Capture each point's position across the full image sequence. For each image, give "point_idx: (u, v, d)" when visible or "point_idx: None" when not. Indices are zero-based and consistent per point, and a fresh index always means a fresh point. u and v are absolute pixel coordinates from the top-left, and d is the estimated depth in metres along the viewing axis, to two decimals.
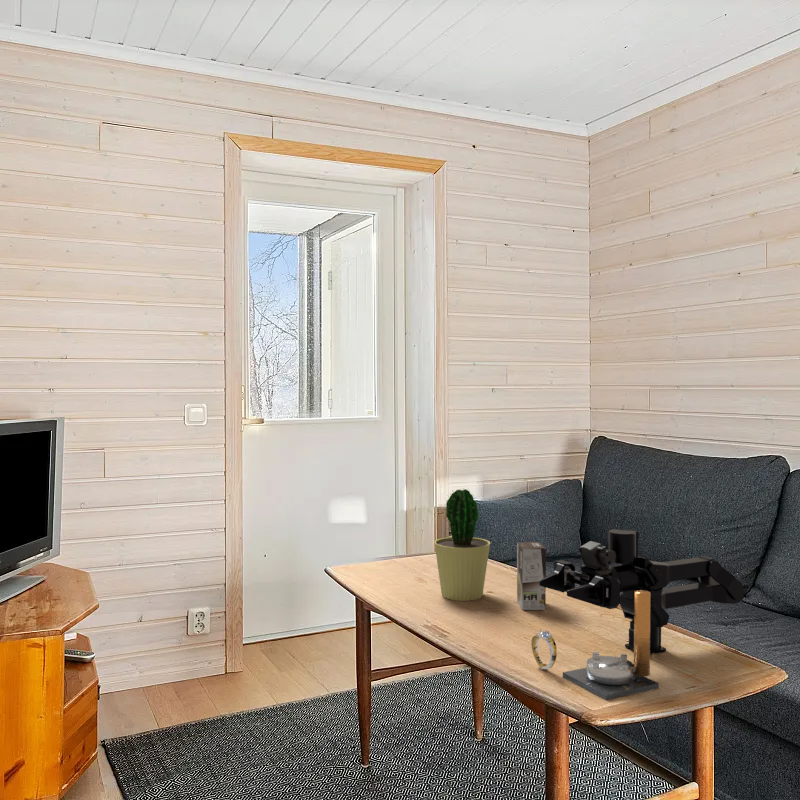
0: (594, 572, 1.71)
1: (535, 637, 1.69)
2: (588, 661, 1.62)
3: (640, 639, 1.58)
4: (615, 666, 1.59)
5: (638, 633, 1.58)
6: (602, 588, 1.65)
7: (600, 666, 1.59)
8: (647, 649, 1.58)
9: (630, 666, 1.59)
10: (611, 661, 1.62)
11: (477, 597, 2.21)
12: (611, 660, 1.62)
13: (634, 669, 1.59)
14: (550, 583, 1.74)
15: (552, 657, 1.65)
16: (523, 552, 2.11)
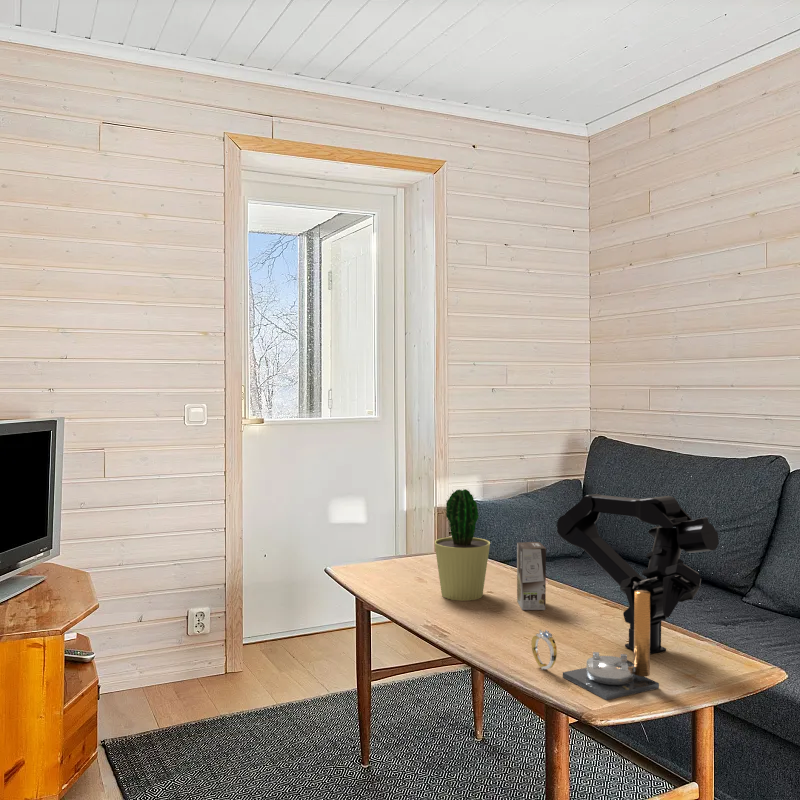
0: None
1: (535, 637, 1.69)
2: (588, 661, 1.62)
3: (640, 639, 1.58)
4: (615, 666, 1.59)
5: (638, 633, 1.58)
6: None
7: (600, 666, 1.59)
8: (647, 649, 1.58)
9: (630, 666, 1.59)
10: (611, 661, 1.62)
11: (477, 597, 2.21)
12: (611, 660, 1.62)
13: (634, 669, 1.59)
14: None
15: (552, 657, 1.65)
16: (523, 552, 2.11)
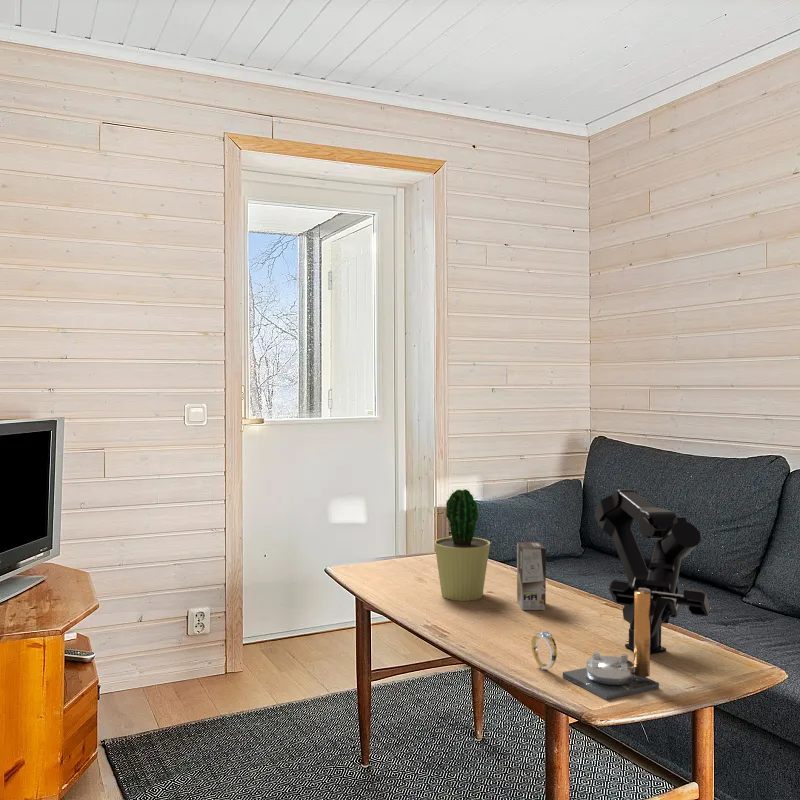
0: None
1: (535, 637, 1.69)
2: (588, 661, 1.62)
3: (640, 639, 1.57)
4: (615, 666, 1.59)
5: (637, 634, 1.58)
6: None
7: (600, 666, 1.59)
8: (647, 649, 1.57)
9: (629, 666, 1.59)
10: (611, 661, 1.62)
11: (477, 597, 2.21)
12: (611, 660, 1.62)
13: (634, 669, 1.59)
14: None
15: (552, 657, 1.65)
16: (523, 552, 2.11)
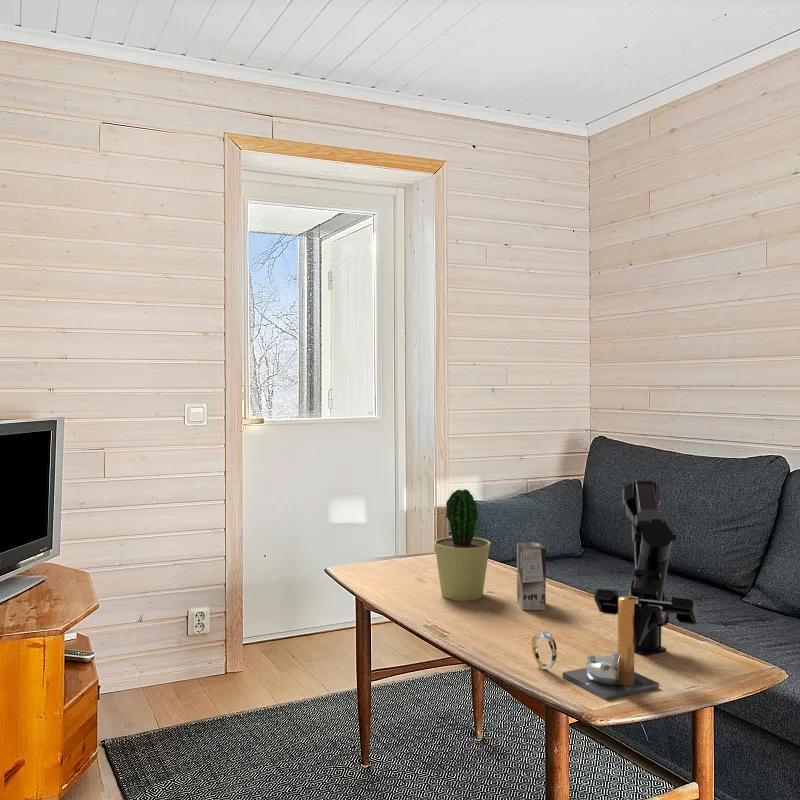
0: None
1: (535, 637, 1.69)
2: (600, 656, 1.65)
3: (618, 644, 1.54)
4: None
5: (618, 638, 1.55)
6: None
7: (595, 661, 1.62)
8: (623, 657, 1.53)
9: (617, 670, 1.57)
10: (616, 663, 1.60)
11: (477, 597, 2.21)
12: None
13: None
14: None
15: (552, 657, 1.65)
16: (523, 552, 2.11)
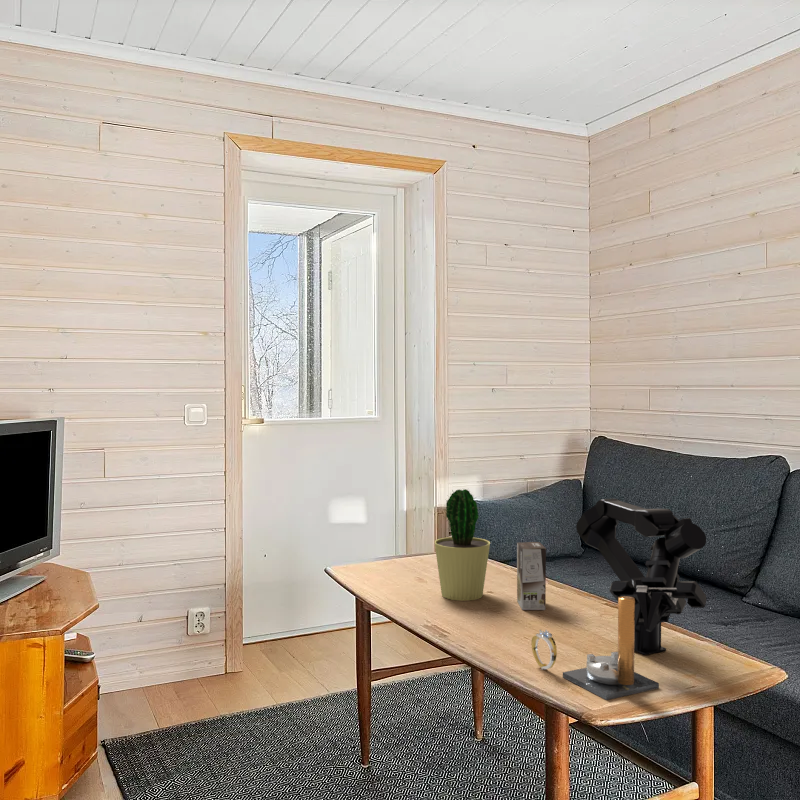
0: None
1: (535, 637, 1.69)
2: (600, 656, 1.65)
3: (618, 644, 1.54)
4: None
5: None
6: None
7: (595, 661, 1.62)
8: (623, 657, 1.53)
9: (617, 670, 1.57)
10: (616, 663, 1.60)
11: (477, 597, 2.21)
12: None
13: None
14: None
15: (552, 657, 1.65)
16: (523, 552, 2.11)
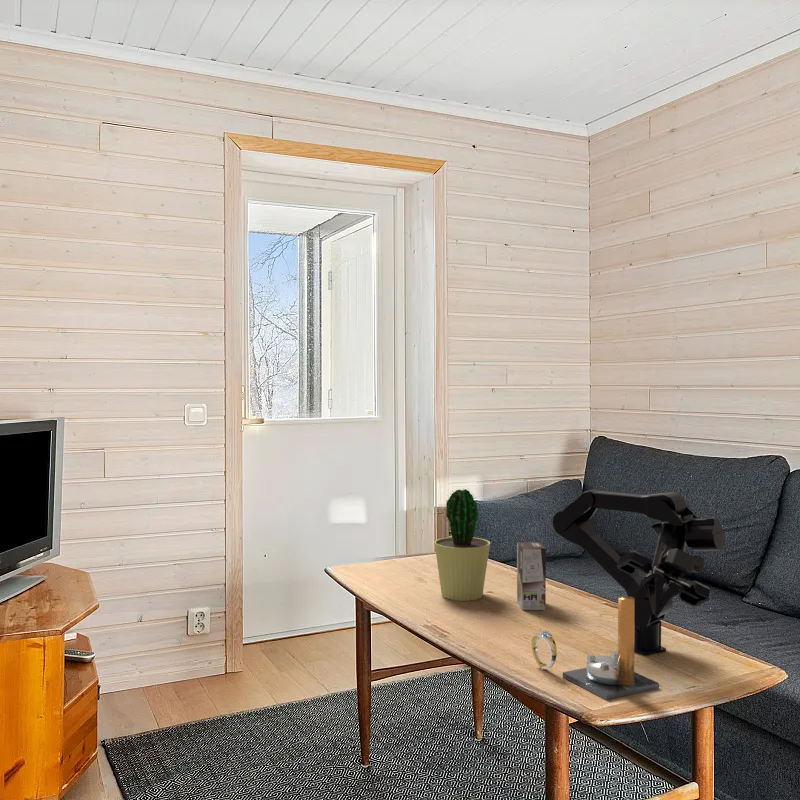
0: (678, 573, 1.68)
1: (535, 637, 1.69)
2: (600, 656, 1.65)
3: (618, 644, 1.54)
4: None
5: None
6: (678, 592, 1.68)
7: (595, 661, 1.62)
8: (623, 657, 1.53)
9: (617, 670, 1.57)
10: (616, 663, 1.60)
11: (477, 597, 2.21)
12: None
13: None
14: None
15: (552, 657, 1.65)
16: (523, 552, 2.11)
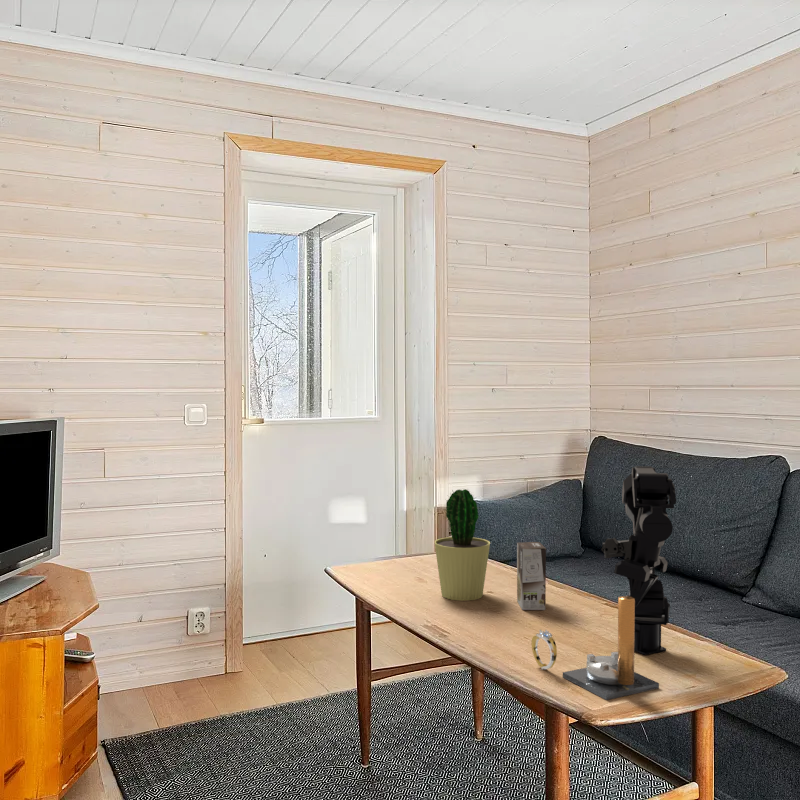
0: None
1: (535, 637, 1.69)
2: (600, 656, 1.65)
3: (618, 644, 1.54)
4: None
5: None
6: None
7: (595, 661, 1.62)
8: (623, 657, 1.53)
9: (617, 670, 1.57)
10: (616, 663, 1.60)
11: (477, 597, 2.21)
12: None
13: None
14: None
15: (552, 657, 1.65)
16: (523, 552, 2.11)
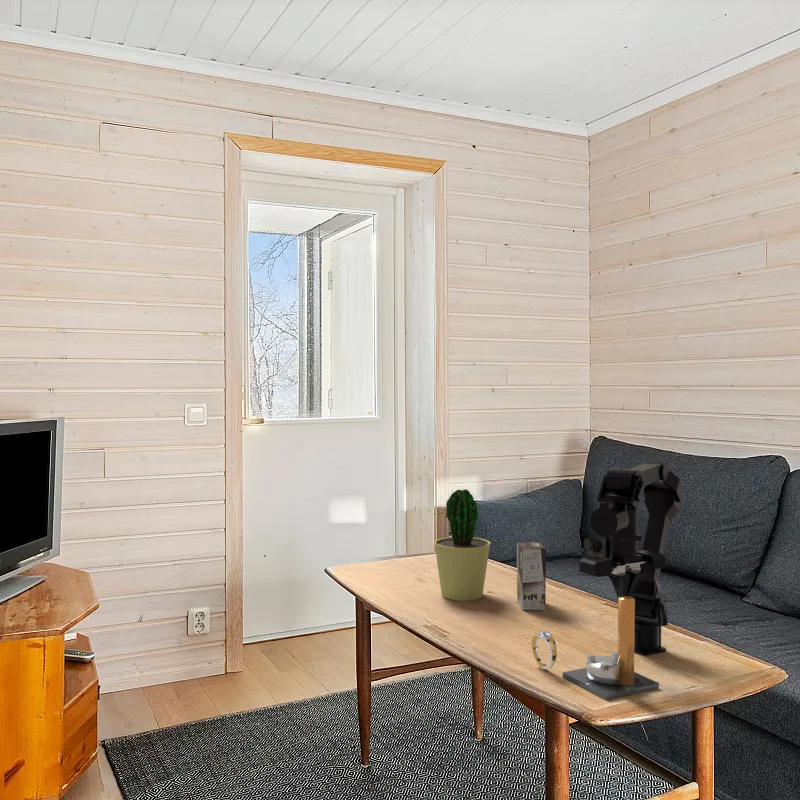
0: None
1: (535, 637, 1.69)
2: (600, 656, 1.65)
3: (618, 644, 1.54)
4: None
5: None
6: None
7: (595, 661, 1.62)
8: (623, 657, 1.53)
9: (617, 670, 1.57)
10: (616, 663, 1.60)
11: (477, 597, 2.21)
12: None
13: None
14: None
15: (552, 657, 1.65)
16: (523, 552, 2.11)
